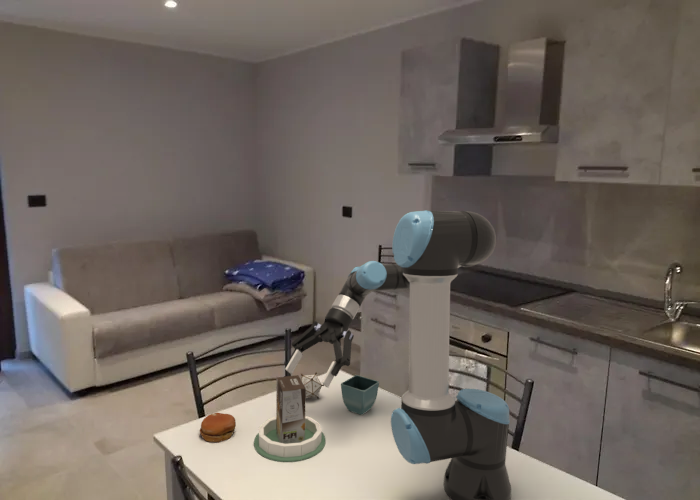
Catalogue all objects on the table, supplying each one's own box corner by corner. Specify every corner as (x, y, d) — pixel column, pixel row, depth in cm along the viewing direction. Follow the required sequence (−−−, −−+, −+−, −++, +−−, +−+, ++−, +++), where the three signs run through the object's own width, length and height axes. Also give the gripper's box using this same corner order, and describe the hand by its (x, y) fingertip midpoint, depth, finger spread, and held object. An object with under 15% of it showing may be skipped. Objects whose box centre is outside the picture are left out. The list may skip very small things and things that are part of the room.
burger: (215, 447, 131) (214, 430, 130) (192, 435, 136) (192, 419, 136) (243, 432, 139) (243, 416, 138) (221, 421, 144) (221, 406, 143)
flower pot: (339, 411, 152) (339, 383, 151) (355, 401, 160) (356, 374, 158) (363, 420, 147) (364, 391, 146) (378, 409, 155) (379, 381, 153)
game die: (313, 411, 160) (318, 395, 153) (289, 399, 161) (293, 383, 154) (324, 388, 166) (330, 373, 159) (301, 377, 167) (306, 361, 160)
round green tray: (339, 444, 133) (340, 432, 133) (279, 471, 121) (280, 457, 120) (298, 417, 147) (298, 406, 147) (240, 438, 135) (240, 426, 134)
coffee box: (305, 446, 131) (306, 388, 129) (281, 449, 129) (282, 391, 127) (297, 429, 140) (298, 374, 137) (275, 432, 138) (275, 377, 135)
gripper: (381, 329, 141) (347, 397, 132) (315, 312, 157) (281, 372, 147) (371, 315, 136) (335, 384, 127) (304, 299, 152) (267, 360, 142)
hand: (305, 378), depth 137 cm, fingers open, 13 cm apart
